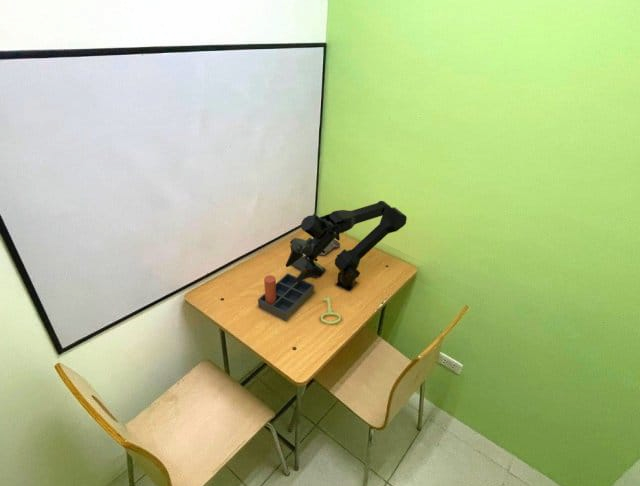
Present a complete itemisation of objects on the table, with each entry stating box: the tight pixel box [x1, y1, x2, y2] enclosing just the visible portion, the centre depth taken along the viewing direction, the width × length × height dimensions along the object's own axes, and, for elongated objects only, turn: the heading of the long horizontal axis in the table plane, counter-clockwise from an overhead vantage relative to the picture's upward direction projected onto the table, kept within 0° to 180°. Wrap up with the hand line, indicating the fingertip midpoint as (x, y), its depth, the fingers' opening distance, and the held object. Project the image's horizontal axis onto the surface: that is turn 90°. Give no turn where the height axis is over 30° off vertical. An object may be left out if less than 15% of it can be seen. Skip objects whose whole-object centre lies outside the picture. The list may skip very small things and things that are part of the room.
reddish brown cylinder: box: [263, 274, 277, 305], centre depth 135 cm, size 4×4×12 cm
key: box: [320, 296, 342, 325], centre depth 137 cm, size 7×12×2 cm, turn 23°
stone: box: [319, 239, 341, 256], centre depth 168 cm, size 12×5×10 cm
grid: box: [257, 272, 315, 322], centre depth 141 cm, size 13×19×4 cm
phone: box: [291, 256, 326, 279], centre depth 158 cm, size 7×1×15 cm
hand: (290, 273), depth 134 cm, fingers open, 9 cm apart
